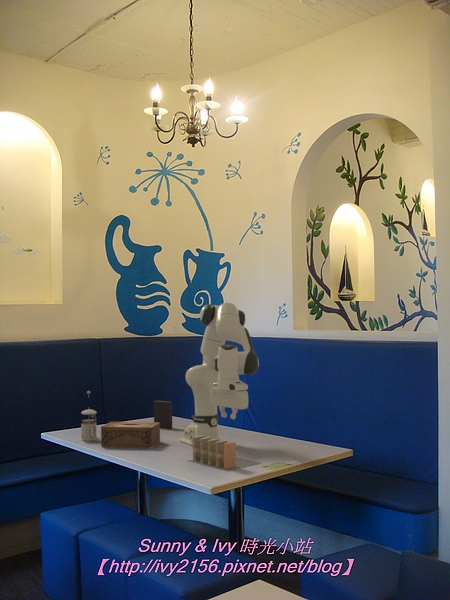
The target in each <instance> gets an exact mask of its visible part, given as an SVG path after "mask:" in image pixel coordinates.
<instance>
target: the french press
mask: <svg viewBox="0 0 450 600" xmlns="http://www.w3.org/2000/svg"><path fill="white" fill-rule="evenodd" d="M86 394H87V395H88V397H90V394H91V391H90V390H88V391H86ZM80 414H81V415H88V416H89V417H91V418H88V419H87V418H86V419H82V420H81V424H80V425H81V426H80V427H81V428H80V429H81V436H80V438H79V441H82V440H86V442H90V441H89V440H91V441H97V440H99V439H98V438H99V437H98V436H97V416H96V414H97V411H96V410H95V409H90V408H88V409H85V410H82V411H81V413H80ZM94 418H95V419H94ZM96 439H97V440H96Z"/></svg>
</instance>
